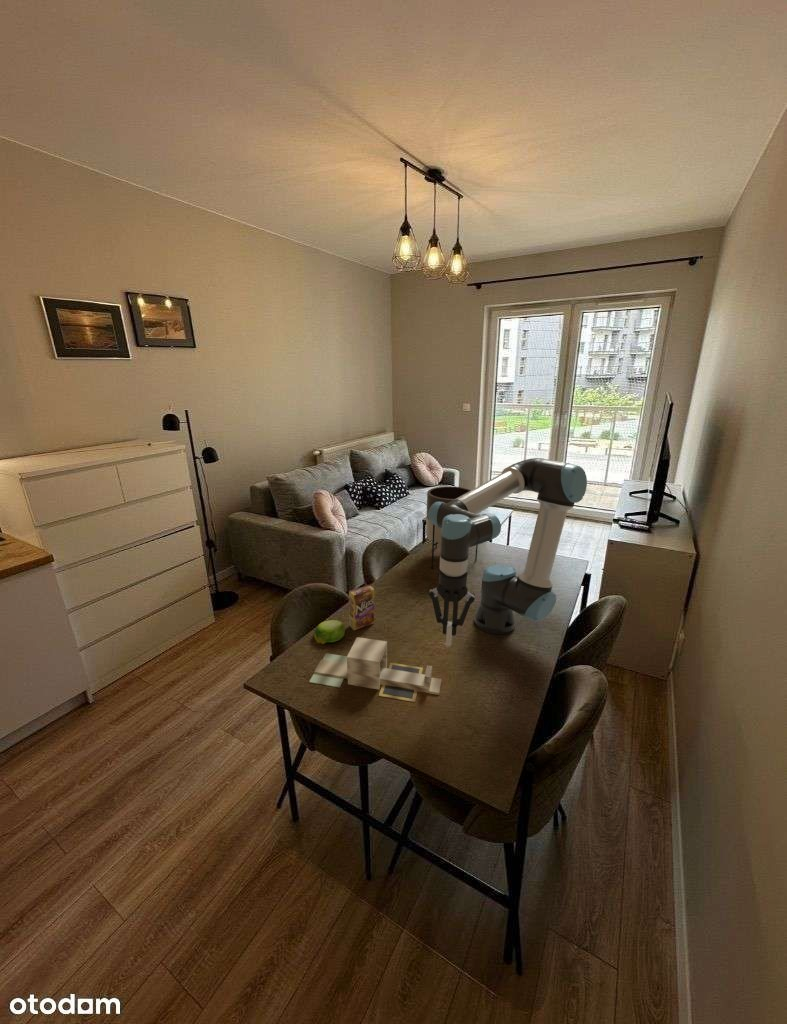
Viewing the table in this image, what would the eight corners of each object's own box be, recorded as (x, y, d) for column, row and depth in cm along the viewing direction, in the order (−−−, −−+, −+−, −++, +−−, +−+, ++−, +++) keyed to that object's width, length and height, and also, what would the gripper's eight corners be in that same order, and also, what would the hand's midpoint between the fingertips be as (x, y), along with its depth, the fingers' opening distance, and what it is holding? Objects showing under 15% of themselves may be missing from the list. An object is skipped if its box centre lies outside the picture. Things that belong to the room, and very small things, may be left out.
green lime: (332, 649, 145) (331, 637, 143) (308, 639, 150) (307, 627, 149) (351, 632, 154) (351, 621, 153) (328, 623, 159) (328, 612, 158)
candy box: (354, 631, 154) (353, 595, 149) (349, 625, 158) (347, 590, 153) (375, 623, 159) (374, 588, 154) (369, 618, 162) (368, 583, 157)
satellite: (443, 671, 134) (444, 644, 131) (437, 706, 121) (438, 677, 117) (326, 652, 143) (325, 627, 139) (308, 683, 129) (306, 656, 126)
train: (431, 677, 131) (432, 658, 128) (429, 690, 125) (429, 671, 123) (358, 665, 136) (358, 647, 133) (352, 677, 130) (352, 659, 128)
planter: (460, 576, 195) (464, 505, 183) (414, 563, 208) (415, 495, 196) (481, 556, 216) (486, 491, 204) (438, 545, 228) (440, 483, 217)
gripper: (478, 567, 116) (472, 638, 123) (431, 562, 119) (428, 632, 126) (476, 579, 109) (470, 654, 117) (427, 574, 112) (424, 647, 119)
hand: (448, 643), depth 121 cm, fingers closed
